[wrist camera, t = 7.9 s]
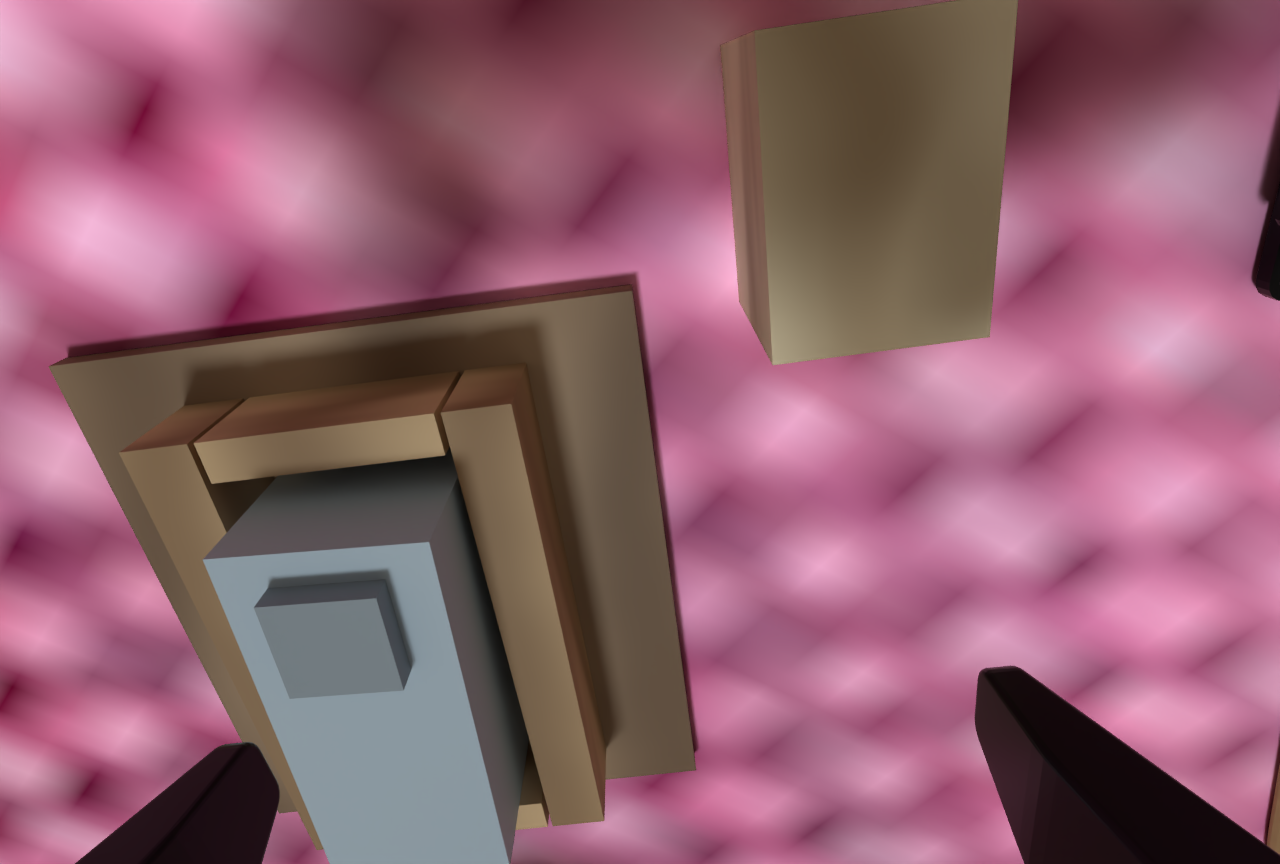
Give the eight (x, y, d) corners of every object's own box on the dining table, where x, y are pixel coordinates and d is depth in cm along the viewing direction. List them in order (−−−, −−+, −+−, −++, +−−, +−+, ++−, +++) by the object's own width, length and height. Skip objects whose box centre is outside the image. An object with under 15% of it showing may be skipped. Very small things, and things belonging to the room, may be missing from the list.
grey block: (473, 440, 18) (421, 560, 13) (530, 725, 22) (506, 890, 18) (297, 454, 18) (185, 578, 14) (388, 736, 22) (327, 902, 18)
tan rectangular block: (911, 17, 15) (1018, -10, 11) (903, 277, 17) (989, 336, 13) (719, 45, 15) (754, 30, 11) (738, 300, 17) (772, 364, 13)
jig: (632, 284, 17) (632, 322, 14) (694, 754, 24) (703, 842, 21) (66, 357, 18) (-40, 408, 15) (286, 797, 24) (243, 888, 22)
